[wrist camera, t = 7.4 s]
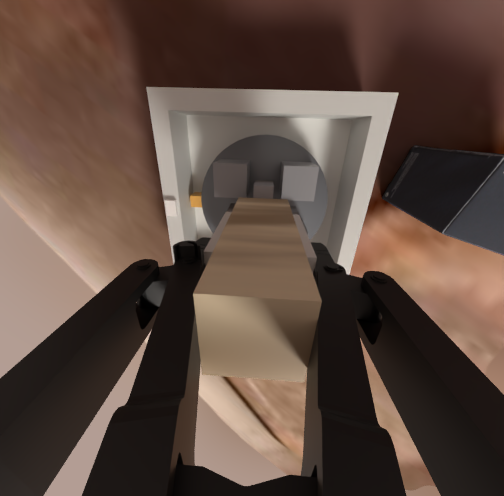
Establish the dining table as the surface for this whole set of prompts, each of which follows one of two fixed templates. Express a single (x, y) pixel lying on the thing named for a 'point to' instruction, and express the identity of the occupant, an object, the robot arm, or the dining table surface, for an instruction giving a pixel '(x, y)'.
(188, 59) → the dining table surface
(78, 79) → the dining table surface
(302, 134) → the white open square box
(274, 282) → the long wooden block
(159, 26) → the dining table surface
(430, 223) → the small box
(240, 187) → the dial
